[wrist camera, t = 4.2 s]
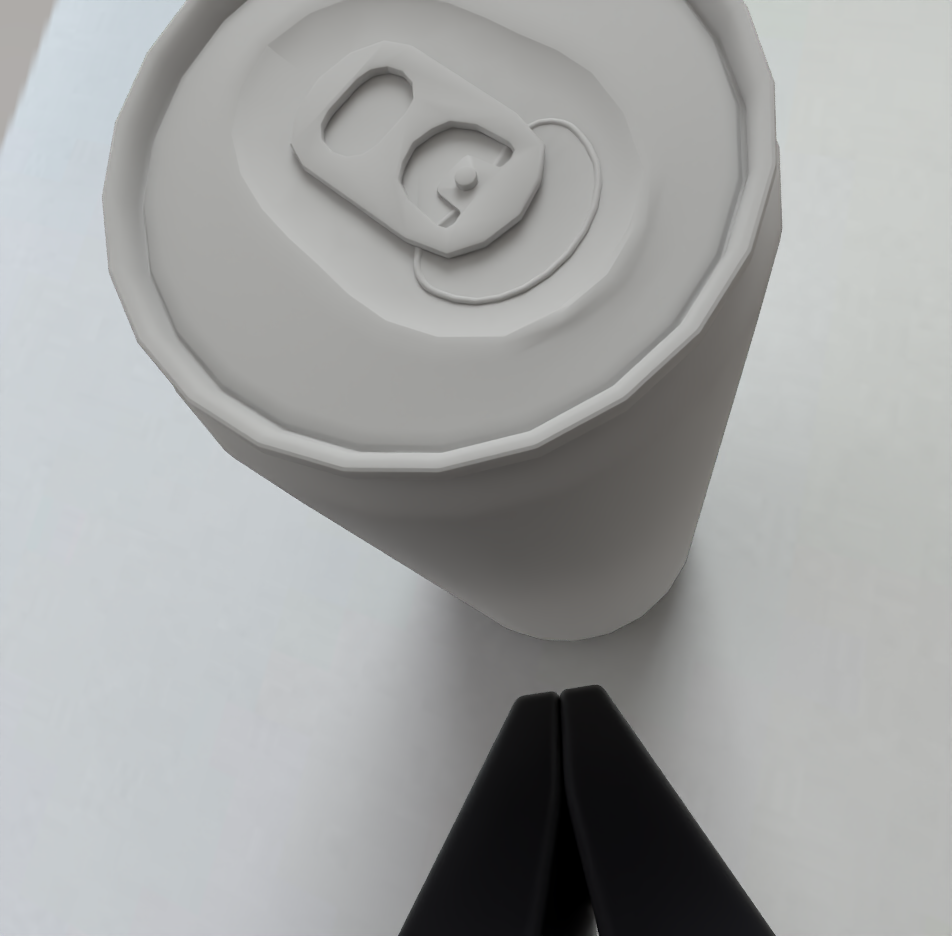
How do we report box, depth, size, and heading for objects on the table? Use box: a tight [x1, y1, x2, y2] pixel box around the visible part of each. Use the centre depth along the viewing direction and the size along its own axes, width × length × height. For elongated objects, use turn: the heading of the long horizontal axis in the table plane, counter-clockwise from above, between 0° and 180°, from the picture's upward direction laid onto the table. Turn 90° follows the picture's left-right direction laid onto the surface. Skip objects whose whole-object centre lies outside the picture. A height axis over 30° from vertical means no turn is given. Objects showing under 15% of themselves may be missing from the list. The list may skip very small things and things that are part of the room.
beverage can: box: [102, 0, 782, 641], centre depth 12 cm, size 5×5×12 cm
